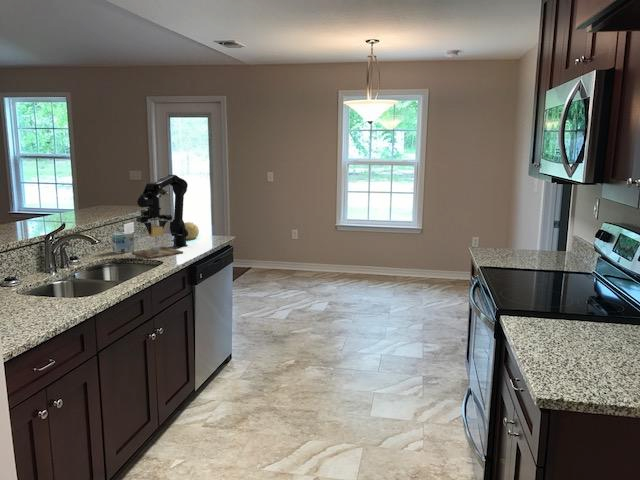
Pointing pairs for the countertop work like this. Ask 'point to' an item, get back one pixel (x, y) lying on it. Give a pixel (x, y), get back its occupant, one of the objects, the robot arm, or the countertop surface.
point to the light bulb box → (123, 242)
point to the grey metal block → (156, 249)
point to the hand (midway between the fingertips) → (155, 233)
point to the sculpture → (191, 230)
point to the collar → (156, 231)
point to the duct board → (164, 252)
